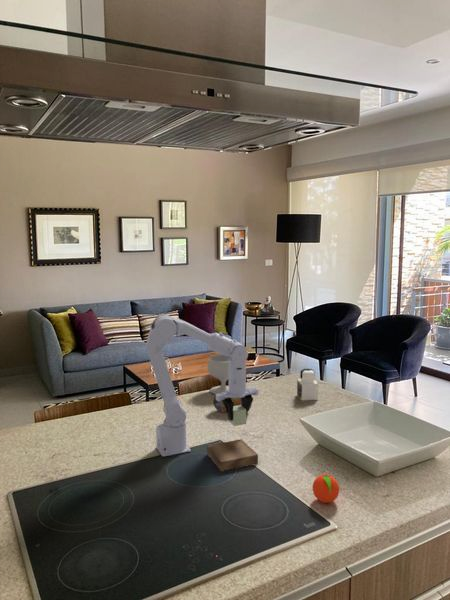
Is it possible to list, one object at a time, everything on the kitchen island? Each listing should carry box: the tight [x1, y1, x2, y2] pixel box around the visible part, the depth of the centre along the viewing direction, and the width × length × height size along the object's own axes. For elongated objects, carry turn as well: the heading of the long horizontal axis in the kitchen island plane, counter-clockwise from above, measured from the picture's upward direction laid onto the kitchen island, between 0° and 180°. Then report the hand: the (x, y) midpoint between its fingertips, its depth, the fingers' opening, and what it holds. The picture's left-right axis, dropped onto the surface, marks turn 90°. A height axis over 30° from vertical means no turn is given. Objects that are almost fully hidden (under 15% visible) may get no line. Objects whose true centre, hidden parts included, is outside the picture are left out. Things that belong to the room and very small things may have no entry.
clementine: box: [312, 473, 340, 504], centre depth 130 cm, size 8×7×7 cm
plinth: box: [206, 438, 259, 472], centre depth 154 cm, size 12×12×3 cm
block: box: [228, 405, 247, 427], centre depth 165 cm, size 4×4×5 cm
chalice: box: [206, 354, 230, 395], centre depth 217 cm, size 14×14×15 cm
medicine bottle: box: [296, 368, 319, 402], centre depth 208 cm, size 7×7×12 cm
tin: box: [212, 391, 253, 414], centre depth 193 cm, size 15×3×8 cm, turn 75°
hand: (237, 418), depth 165 cm, fingers closed on block, 4 cm apart
